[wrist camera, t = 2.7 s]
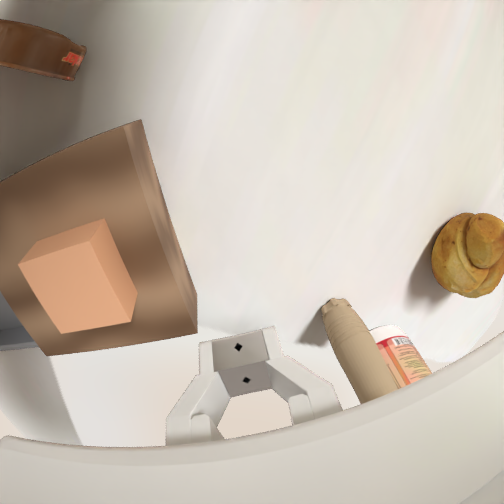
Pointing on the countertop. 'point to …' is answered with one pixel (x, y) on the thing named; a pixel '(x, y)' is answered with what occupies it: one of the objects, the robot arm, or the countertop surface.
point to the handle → (356, 351)
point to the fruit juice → (400, 355)
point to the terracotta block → (80, 278)
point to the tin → (39, 50)
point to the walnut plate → (121, 228)
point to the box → (12, 329)
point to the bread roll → (469, 254)
